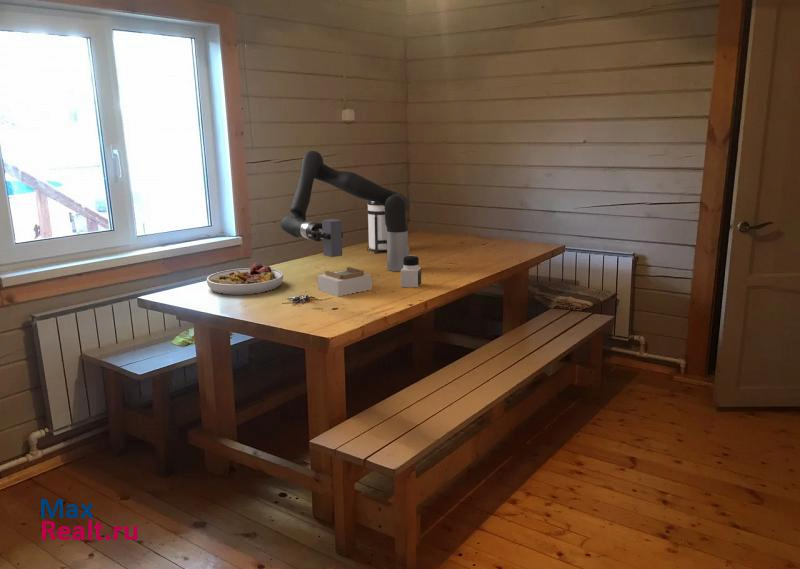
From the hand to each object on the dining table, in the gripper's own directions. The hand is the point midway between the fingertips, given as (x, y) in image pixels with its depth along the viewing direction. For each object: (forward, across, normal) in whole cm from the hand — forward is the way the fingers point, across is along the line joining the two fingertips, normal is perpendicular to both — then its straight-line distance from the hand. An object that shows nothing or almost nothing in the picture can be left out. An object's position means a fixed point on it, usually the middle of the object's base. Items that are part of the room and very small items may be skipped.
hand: (335, 236), depth 262 cm
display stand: (+5, 0, +21) cm, 21 cm away
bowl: (-26, -27, +22) cm, 43 cm away
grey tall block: (-3, 0, +8) cm, 8 cm away
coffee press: (-49, +60, +21) cm, 80 cm away
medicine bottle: (+16, +24, +21) cm, 36 cm away
